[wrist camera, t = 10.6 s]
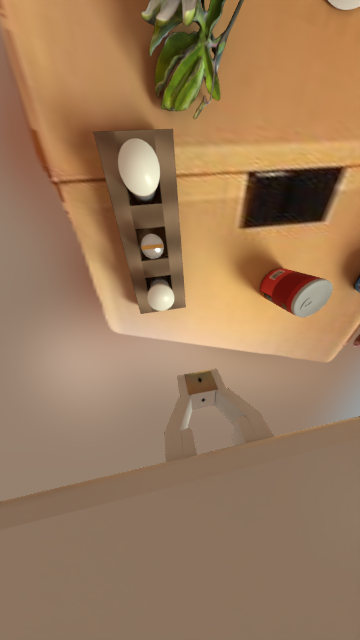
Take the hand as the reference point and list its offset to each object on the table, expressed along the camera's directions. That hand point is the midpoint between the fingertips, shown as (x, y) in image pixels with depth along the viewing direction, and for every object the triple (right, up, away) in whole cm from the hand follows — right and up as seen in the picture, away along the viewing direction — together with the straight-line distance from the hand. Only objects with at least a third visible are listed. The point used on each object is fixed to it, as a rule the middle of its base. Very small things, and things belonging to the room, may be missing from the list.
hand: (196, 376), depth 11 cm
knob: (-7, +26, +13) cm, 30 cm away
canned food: (+23, +14, +27) cm, 38 cm away
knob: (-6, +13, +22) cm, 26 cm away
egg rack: (-7, +19, +18) cm, 27 cm away
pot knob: (-6, +18, +15) cm, 24 cm away
